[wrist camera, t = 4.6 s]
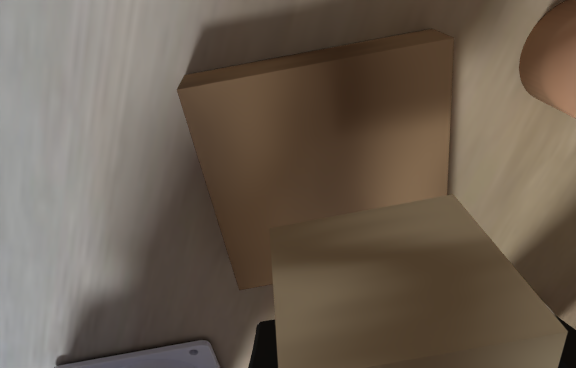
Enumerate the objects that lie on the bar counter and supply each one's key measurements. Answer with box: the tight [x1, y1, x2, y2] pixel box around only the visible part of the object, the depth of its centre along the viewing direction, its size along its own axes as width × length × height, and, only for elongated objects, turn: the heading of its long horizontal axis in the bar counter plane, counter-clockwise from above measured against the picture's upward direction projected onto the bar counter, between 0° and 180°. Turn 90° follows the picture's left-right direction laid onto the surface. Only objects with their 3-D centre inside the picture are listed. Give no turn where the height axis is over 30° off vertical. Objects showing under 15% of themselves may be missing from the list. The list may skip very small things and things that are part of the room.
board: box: [177, 29, 454, 290], centre depth 18 cm, size 10×10×2 cm
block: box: [269, 194, 568, 368], centre depth 10 cm, size 5×5×4 cm
